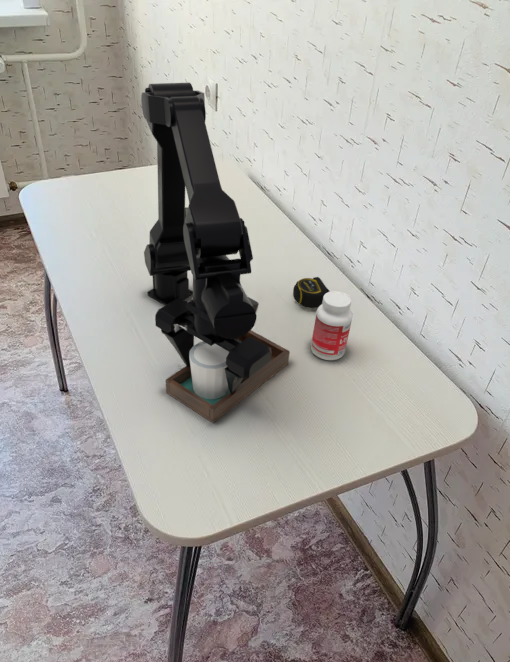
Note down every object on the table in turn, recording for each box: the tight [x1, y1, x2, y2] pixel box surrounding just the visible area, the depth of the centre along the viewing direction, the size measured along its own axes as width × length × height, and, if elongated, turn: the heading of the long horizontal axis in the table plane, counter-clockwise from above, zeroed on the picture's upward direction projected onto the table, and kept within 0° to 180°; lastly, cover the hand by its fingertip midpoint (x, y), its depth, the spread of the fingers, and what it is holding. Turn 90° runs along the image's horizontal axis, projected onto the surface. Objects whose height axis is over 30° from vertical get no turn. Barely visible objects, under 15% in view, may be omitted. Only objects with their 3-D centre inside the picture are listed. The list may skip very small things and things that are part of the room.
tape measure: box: [292, 276, 331, 309], centre depth 120 cm, size 7×7×4 cm
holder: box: [165, 329, 291, 424], centre depth 102 cm, size 10×19×3 cm, turn 141°
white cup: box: [189, 341, 229, 399], centre depth 97 cm, size 7×7×7 cm
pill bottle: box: [310, 290, 353, 361], centre depth 106 cm, size 6×6×11 cm
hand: (210, 378), depth 98 cm, fingers open, 9 cm apart
